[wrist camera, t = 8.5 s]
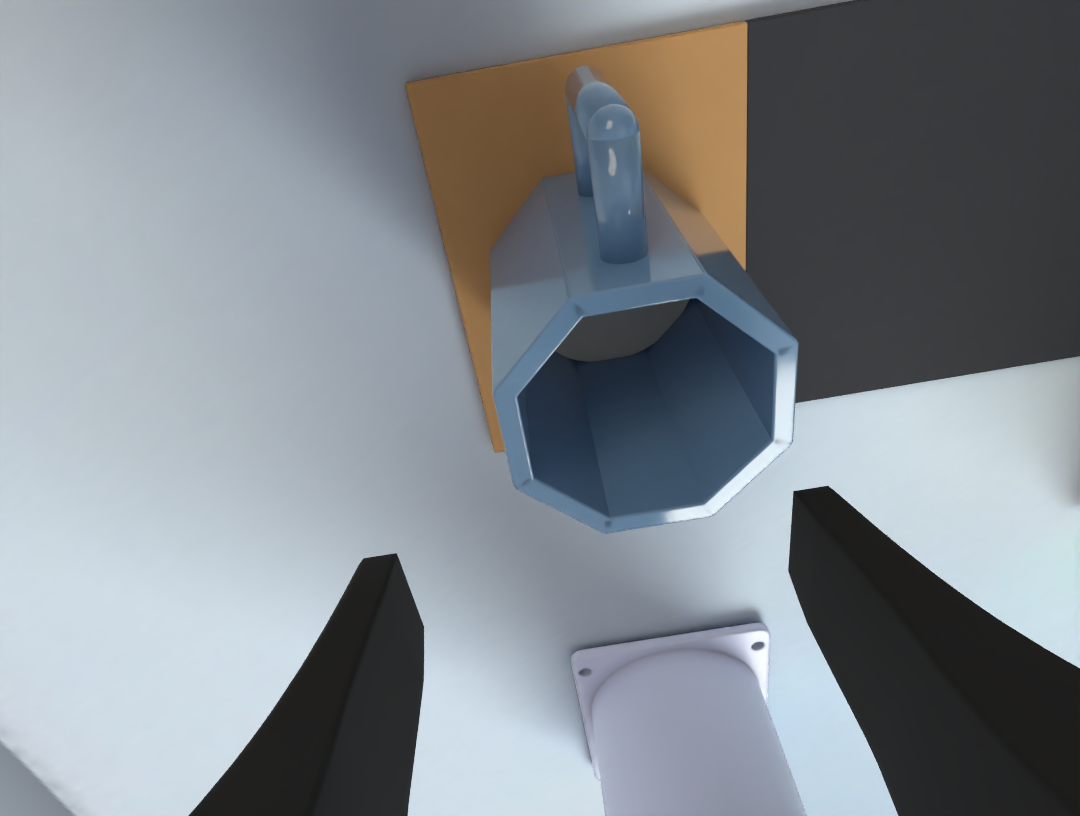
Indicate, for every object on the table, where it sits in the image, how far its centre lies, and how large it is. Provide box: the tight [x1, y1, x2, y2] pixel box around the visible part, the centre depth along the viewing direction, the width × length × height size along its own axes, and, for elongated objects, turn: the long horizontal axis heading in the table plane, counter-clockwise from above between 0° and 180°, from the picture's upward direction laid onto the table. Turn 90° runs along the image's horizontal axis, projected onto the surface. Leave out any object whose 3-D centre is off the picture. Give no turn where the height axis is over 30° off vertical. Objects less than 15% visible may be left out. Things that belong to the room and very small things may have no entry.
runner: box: [405, 0, 1080, 452], centre depth 20 cm, size 11×20×1 cm, turn 99°
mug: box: [489, 65, 799, 533], centre depth 16 cm, size 8×6×7 cm
